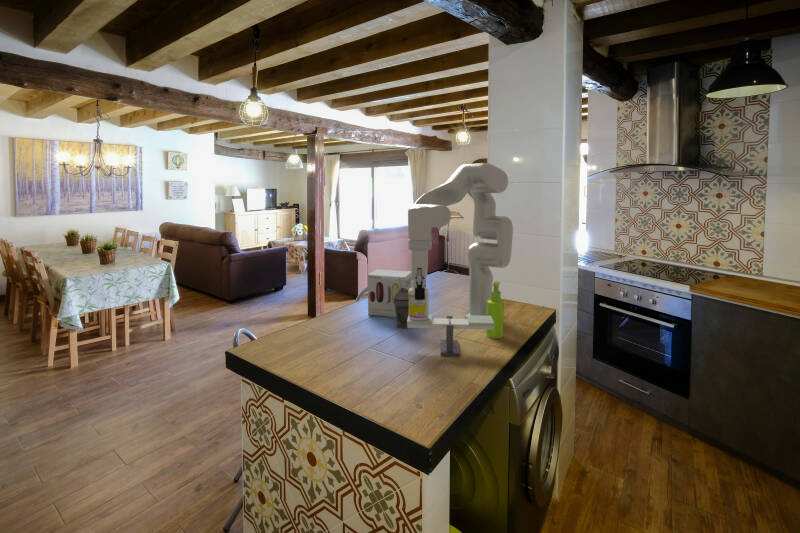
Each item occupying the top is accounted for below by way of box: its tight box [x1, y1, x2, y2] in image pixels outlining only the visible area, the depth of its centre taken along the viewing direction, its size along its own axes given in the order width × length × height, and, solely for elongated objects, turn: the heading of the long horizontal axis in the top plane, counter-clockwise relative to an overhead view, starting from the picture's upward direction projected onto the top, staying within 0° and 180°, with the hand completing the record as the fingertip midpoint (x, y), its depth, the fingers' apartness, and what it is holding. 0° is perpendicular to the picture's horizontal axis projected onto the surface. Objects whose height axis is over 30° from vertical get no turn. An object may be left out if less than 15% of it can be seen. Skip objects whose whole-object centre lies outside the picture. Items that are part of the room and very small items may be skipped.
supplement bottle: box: [408, 280, 430, 321], centre depth 137 cm, size 7×7×13 cm
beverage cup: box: [394, 277, 409, 330], centre depth 160 cm, size 7×7×20 cm
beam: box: [406, 314, 494, 330], centre depth 137 cm, size 28×8×3 cm, turn 85°
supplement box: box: [367, 268, 412, 318], centre depth 179 cm, size 17×13×18 cm
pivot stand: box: [439, 315, 460, 357], centre depth 138 cm, size 6×12×10 cm, turn 175°
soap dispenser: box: [485, 281, 505, 340], centre depth 150 cm, size 6×7×20 cm
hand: (420, 295), depth 137 cm, fingers open, 9 cm apart
